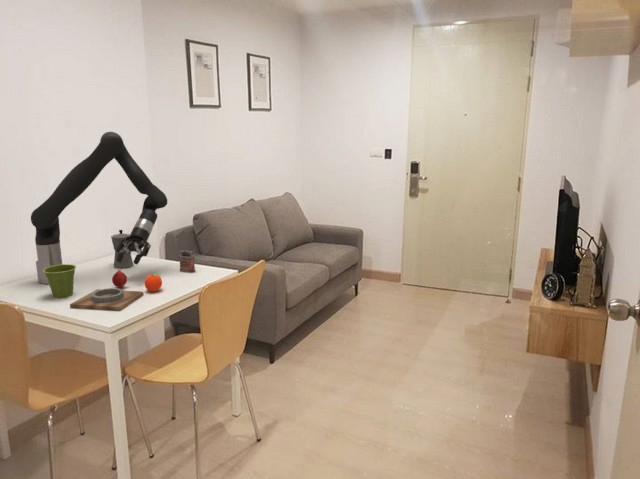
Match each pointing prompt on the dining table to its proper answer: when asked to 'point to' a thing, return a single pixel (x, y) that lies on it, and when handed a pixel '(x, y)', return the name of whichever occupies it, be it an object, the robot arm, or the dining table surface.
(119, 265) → the coffeepot
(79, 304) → the board
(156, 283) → the clementine
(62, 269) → the plant pot
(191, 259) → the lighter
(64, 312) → the dining table surface
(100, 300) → the ring
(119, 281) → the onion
